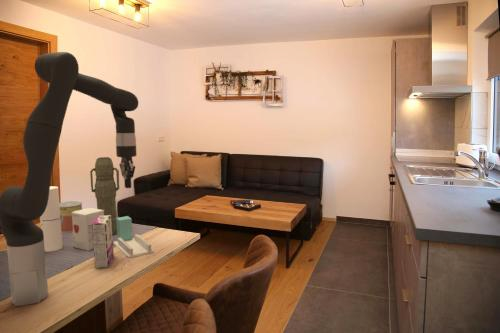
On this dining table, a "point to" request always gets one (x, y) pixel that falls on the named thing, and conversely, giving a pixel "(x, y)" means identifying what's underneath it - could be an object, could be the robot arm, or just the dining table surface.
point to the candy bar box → (102, 241)
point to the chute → (133, 246)
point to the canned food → (68, 214)
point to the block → (124, 228)
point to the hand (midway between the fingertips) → (128, 187)
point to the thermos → (106, 188)
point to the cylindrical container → (52, 222)
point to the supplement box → (84, 227)
